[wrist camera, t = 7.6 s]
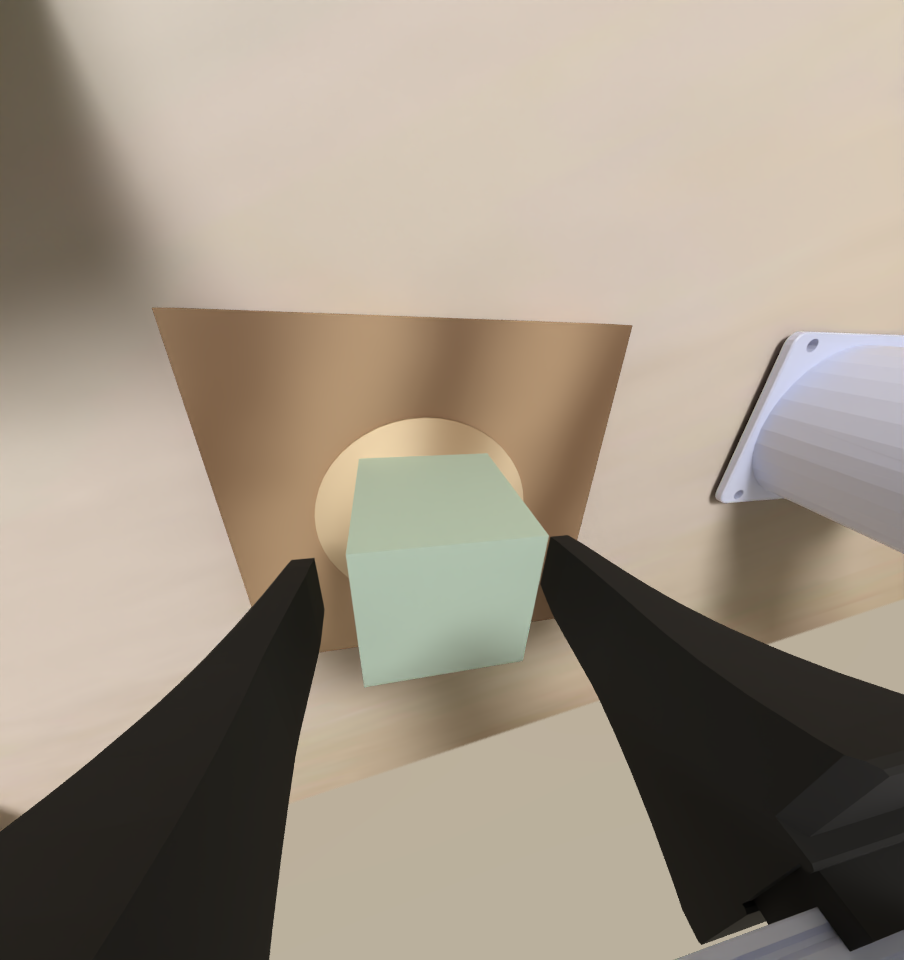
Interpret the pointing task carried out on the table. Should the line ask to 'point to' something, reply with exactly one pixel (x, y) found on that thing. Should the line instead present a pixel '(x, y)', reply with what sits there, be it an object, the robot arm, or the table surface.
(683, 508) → the table surface
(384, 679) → the block
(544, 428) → the rest board
